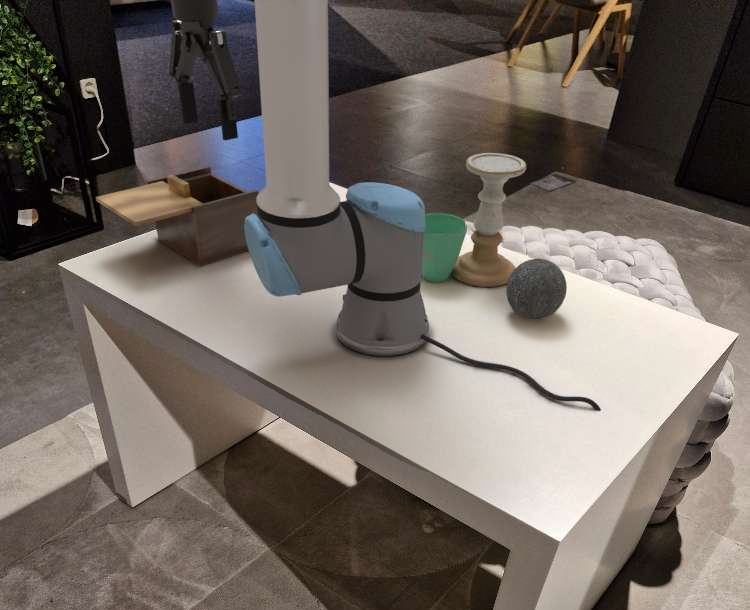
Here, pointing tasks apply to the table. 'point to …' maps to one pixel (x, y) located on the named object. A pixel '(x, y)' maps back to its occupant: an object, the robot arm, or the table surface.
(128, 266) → the table surface
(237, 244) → the walnut box
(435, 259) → the mug
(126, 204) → the sliding lid
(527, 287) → the decorative ball
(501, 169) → the candle holder
